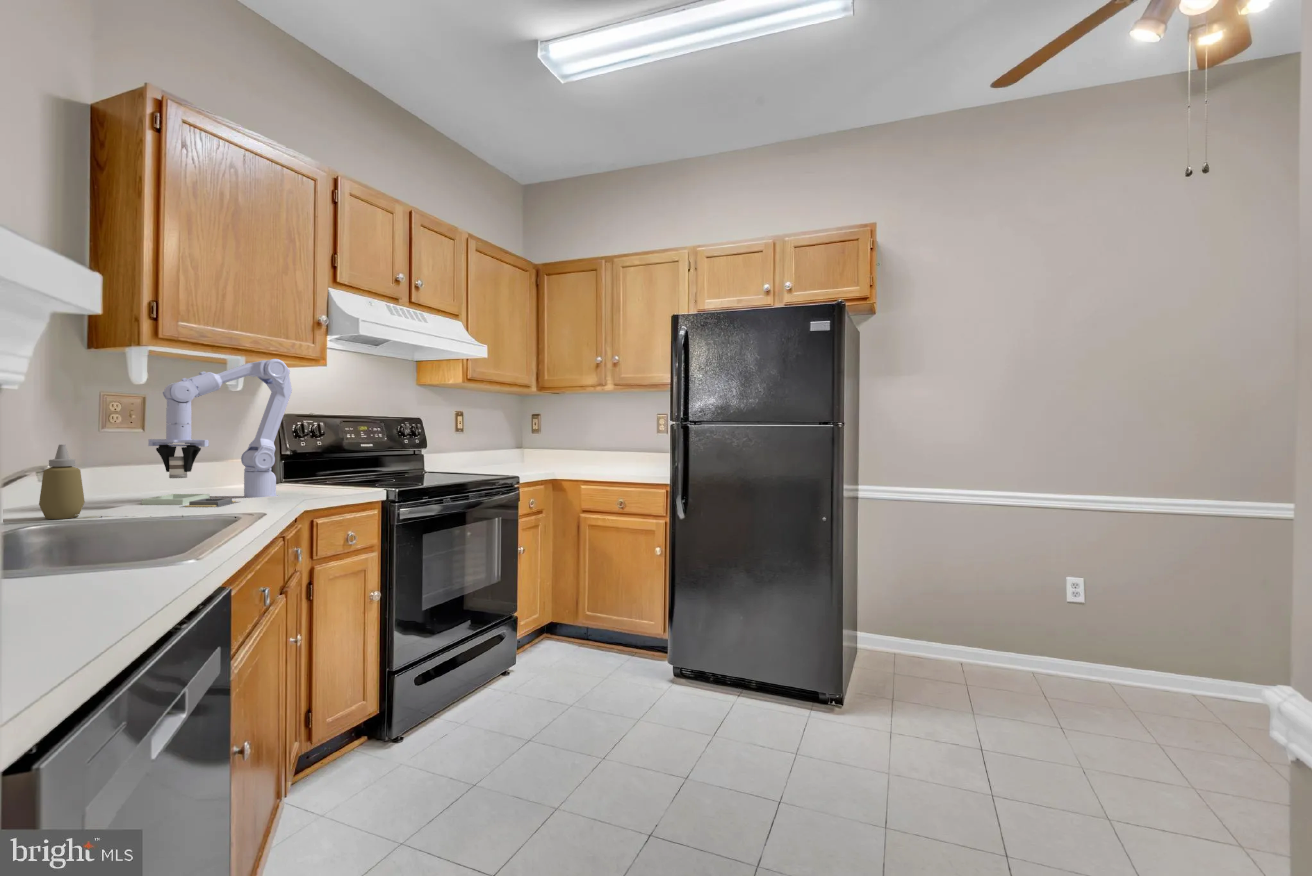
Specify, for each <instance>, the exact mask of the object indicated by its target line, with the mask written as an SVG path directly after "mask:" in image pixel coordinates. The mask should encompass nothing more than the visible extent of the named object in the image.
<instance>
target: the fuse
mask: <svg viewBox="0 0 1312 876" xmlns="http://www.w3.org/2000/svg"><path fill="white" fill-rule="evenodd" d="M168 478H169V479H186V478H188V472H184V457H183V455H182V456H175V455H174V457H169V472H168Z"/></svg>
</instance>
